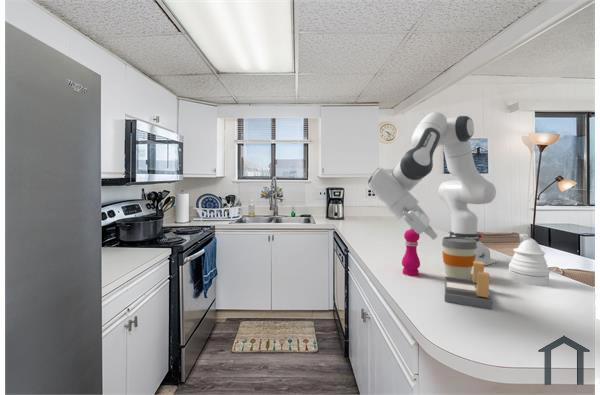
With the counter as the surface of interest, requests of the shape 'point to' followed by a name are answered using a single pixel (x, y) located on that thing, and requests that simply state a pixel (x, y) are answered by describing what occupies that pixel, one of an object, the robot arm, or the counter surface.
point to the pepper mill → (411, 254)
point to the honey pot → (529, 264)
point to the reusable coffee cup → (458, 256)
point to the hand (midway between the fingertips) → (435, 237)
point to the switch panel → (465, 293)
